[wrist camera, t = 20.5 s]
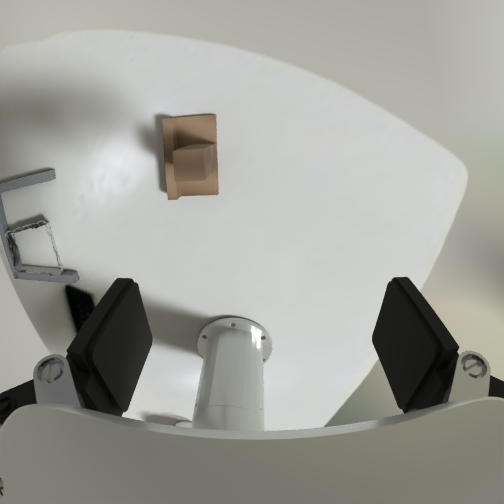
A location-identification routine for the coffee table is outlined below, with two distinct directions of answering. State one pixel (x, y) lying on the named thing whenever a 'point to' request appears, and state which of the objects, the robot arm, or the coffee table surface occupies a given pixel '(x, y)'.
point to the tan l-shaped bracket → (190, 156)
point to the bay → (65, 276)
